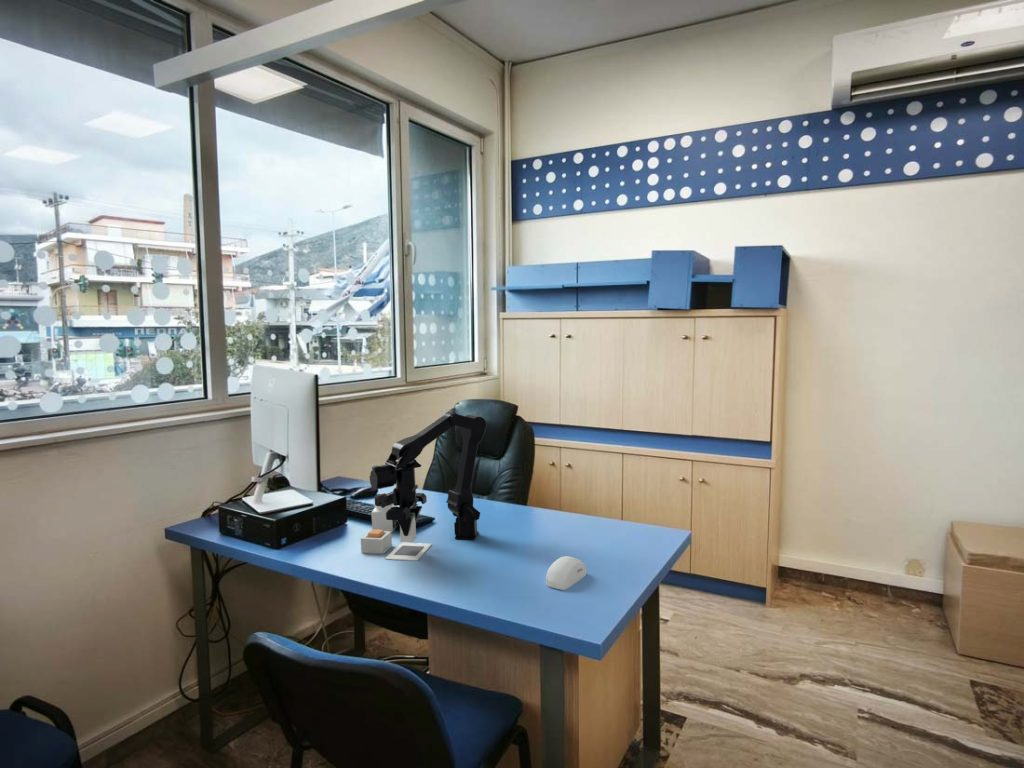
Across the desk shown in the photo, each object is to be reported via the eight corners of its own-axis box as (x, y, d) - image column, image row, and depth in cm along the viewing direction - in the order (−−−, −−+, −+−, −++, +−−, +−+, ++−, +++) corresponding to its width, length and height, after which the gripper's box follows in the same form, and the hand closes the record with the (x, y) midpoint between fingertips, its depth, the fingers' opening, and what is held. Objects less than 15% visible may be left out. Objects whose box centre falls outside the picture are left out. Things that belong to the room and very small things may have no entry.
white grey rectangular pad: (431, 544, 191) (431, 543, 191) (417, 561, 179) (417, 559, 178) (401, 543, 193) (401, 541, 193) (385, 559, 181) (385, 557, 181)
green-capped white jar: (416, 538, 187) (414, 512, 186) (412, 542, 183) (410, 516, 183) (405, 537, 188) (403, 512, 187) (400, 541, 184) (399, 516, 183)
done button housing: (391, 545, 192) (391, 531, 191) (382, 553, 185) (382, 539, 185) (371, 544, 193) (370, 530, 193) (361, 552, 186) (360, 538, 186)
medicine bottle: (393, 532, 204) (391, 497, 203) (372, 532, 204) (370, 497, 203) (397, 524, 211) (396, 491, 210) (377, 525, 211) (375, 491, 210)
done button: (384, 537, 190) (383, 529, 190) (379, 541, 187) (378, 533, 186) (373, 536, 191) (372, 529, 191) (368, 540, 187) (367, 533, 187)
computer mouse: (588, 574, 166) (588, 552, 165) (563, 592, 155) (563, 569, 155) (568, 569, 170) (568, 547, 169) (542, 586, 159) (542, 563, 158)
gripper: (392, 474, 194) (395, 522, 196) (367, 491, 176) (370, 543, 178) (426, 475, 192) (428, 523, 194) (403, 492, 174) (406, 545, 176)
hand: (408, 533), depth 185 cm, fingers closed on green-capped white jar, 4 cm apart
